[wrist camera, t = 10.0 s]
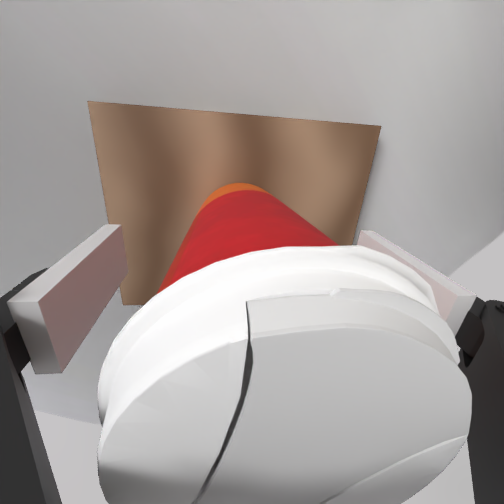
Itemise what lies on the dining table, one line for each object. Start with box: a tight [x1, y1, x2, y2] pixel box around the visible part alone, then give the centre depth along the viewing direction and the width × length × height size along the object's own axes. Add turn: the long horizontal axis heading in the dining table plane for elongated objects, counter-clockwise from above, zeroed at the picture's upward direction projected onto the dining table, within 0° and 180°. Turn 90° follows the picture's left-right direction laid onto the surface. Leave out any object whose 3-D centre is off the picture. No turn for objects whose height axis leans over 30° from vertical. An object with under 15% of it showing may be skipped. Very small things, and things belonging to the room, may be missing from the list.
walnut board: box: [88, 101, 381, 305], centre depth 19 cm, size 18×14×2 cm
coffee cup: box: [97, 183, 472, 504], centre depth 12 cm, size 8×8×15 cm
